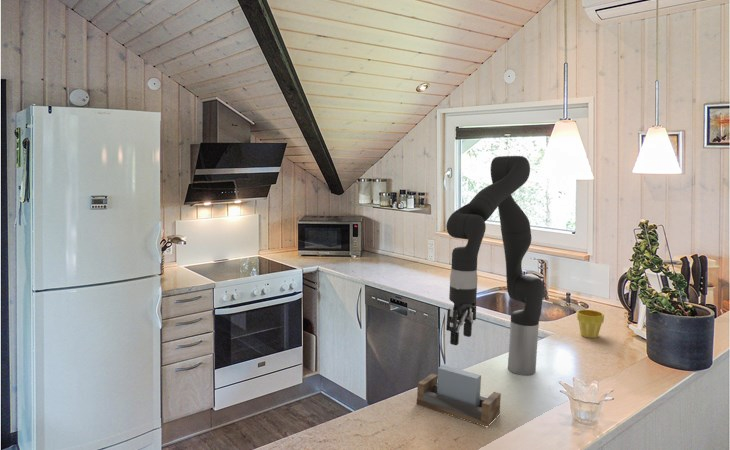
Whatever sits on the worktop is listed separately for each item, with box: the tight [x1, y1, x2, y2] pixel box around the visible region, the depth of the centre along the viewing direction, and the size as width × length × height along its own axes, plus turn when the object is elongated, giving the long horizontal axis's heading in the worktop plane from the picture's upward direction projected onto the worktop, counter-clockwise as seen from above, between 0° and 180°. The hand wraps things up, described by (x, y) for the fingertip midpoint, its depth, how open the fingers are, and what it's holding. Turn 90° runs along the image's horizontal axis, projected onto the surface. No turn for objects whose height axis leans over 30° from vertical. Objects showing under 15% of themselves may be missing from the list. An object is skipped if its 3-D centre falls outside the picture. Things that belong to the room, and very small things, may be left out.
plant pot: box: [576, 309, 605, 339], centre depth 217 cm, size 10×10×10 cm
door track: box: [416, 373, 502, 427], centre depth 150 cm, size 9×22×6 cm, turn 54°
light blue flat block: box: [437, 364, 482, 407], centre depth 150 cm, size 3×12×10 cm, turn 55°
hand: (460, 340), depth 148 cm, fingers open, 8 cm apart
